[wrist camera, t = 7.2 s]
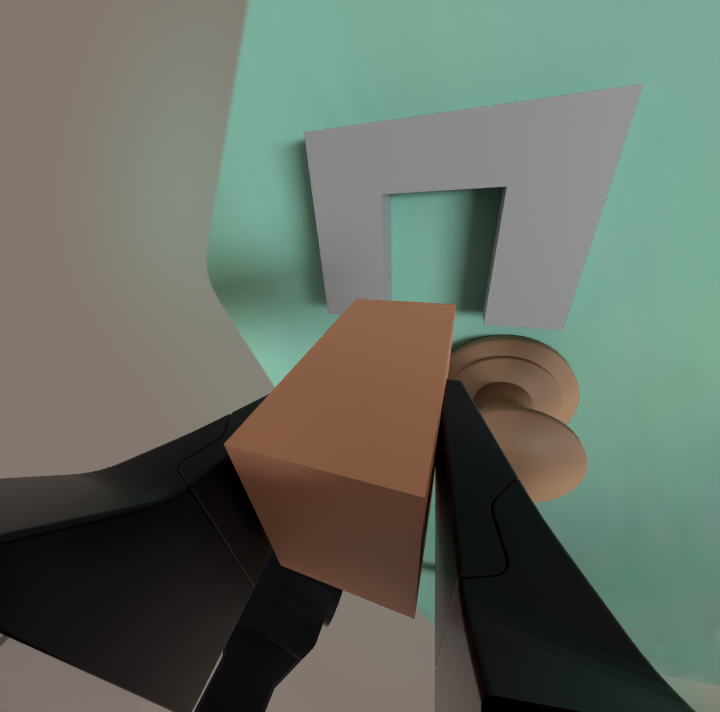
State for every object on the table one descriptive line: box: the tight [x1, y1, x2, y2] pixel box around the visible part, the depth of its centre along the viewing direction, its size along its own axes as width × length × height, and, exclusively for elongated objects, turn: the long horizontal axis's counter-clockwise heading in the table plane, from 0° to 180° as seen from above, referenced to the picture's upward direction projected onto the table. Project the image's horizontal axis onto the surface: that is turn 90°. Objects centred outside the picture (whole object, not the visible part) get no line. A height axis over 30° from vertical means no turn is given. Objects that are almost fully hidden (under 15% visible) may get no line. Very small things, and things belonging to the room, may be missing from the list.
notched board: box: [304, 84, 643, 330], centre depth 16 cm, size 14×10×2 cm
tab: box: [224, 299, 456, 618], centre depth 7 cm, size 3×4×6 cm
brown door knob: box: [448, 335, 587, 503], centre depth 18 cm, size 9×9×6 cm
